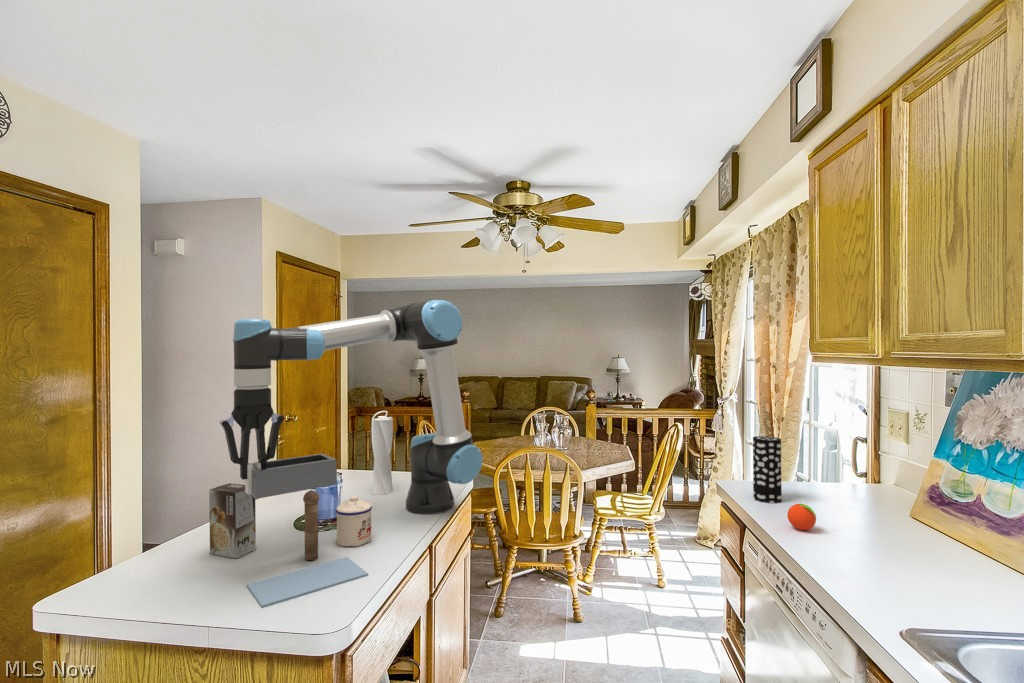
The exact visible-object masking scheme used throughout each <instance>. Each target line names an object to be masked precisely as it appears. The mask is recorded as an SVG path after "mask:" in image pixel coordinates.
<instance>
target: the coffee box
mask: <svg viewBox="0 0 1024 683" xmlns="http://www.w3.org/2000/svg"><path fill="white" fill-rule="evenodd" d="M208 496H209V500H208V502H209V504H208V505H209V507H208V508H209V509H208V510H209V555H213V554H215V556H219V555H220V556H221V557H226V558H232V559H238V558H241V557H242V556H245V555H247V554H249V553H252V552H254V551H256V549H257V544H256V543H257V542H256V541H257V539H256V538H257V537H256V536H257V535H256V533H257V531H256V526H257V525H256V524H257V523H256V522H257V521H256V520H257V519H256V499H255V498H254V497H253V496H251V495H248V494H247V493H246V492H245V484H241V483H240V484H239V483H226V484H222V485H220V486H219V485H218V486H216V487H213V488H210V489H209V490H208ZM251 551H252V552H251Z"/></svg>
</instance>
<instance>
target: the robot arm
mask: <svg viewBox="0 0 1024 683" xmlns="http://www.w3.org/2000/svg"><path fill="white" fill-rule="evenodd" d="M463 324H464V323H463V317H462V313H461V312H460V310H459V309H458V308H457V306H456V305H454V304H453V303H452V302H450V301H447V300H443V299H440V300H439V299H432V300H428V301H427V300H425V301H417V302H412V303H409V304H404V305H401V306H398V307H395V308H389V309H383V310H381V312H380V313H379V314H373V315H367V316H366V315H365V316H361V317H354V318H347V319H341V320H334V321H327V322H321V323H313V324H309V325H308V324H307V325H302V326H301V325H300V326H296V327H289V328H278V327H277V328H274V327H273V326H272V322H271V321H270V320H269V319H265V318H264V319H261V318H242V319H241V318H240V319H238V320H236V321H235V323H234V327H233V338H232V341H233V368H234V369H233V386H234V387H235V388H236V389H234V390H233V410H232V412H231V414H230V416H228V417H226V418H225V419H221V420H220V421H219V424H220V426H221V428H223V430H224V434H225V439H226V444H227V449H228V454H229V457H230V462H232V463H233V464H236V465H237V464H238V465H239V477H240V478H241V480H244V485H245V492H246V493H247V494H248V495H250V494H252V465H251V463H249V458H250V457H249V454H250V440H251V439H250V437H251V434H252V433H251V432H252V431H251V430H253V429H254V430H255V440H256V452H257V460H258V461H254V462H253V463H254V466H255V467H257V468H258V469H266V462H267V461H270V460H272V459H273V460H274V458H275V457H276V452H277V451H276V450H277V444H278V439H279V434H280V430H281V425H282V423H283V421H284V420H285V417H284V415H281V414H277V413H275V412H274V408H273V407H272V388H271V387H269V386H271V385H272V361H275V362H276V361H277V362H278V361H311V360H312V361H313V360H319V359H321V358H322V356H323V355H324V352H326V351H331V350H336V349H341V348H345V347H346V348H347V347H352V346H358V345H362V344H369V343H373V342H374V343H375V342H379V341H384V340H385V341H386V342H387V343H392V342H398V341H401V342H403V341H411V342H416V345H417V351H419V352H420V353H421V354H422V355H423V356H424V361H425V369H426V375H427V380H428V381H427V382H428V386H429V387H428V388H429V394H430V399H431V400H430V401H431V406H432V413H433V421H434V426H435V431H436V432H432V433H431V432H430V433H425V434H424V433H423V434H417V435H415V436H413V437H412V438H411V442H410V465H411V466H410V471H411V472H410V481H411V482H410V486H409V489H408V492H407V496H406V499H405V509H406V510H407V511H408V512H410V513H413V514H419V515H420V514H422V515H431V514H440V513H443V512H447V511H449V510H452V509H453V508H454V507H455V498H454V494H453V492H452V488H451V486H450V483H452V484H459V485H466V484H468V483H471V482H472V481H473V480H475V479H476V478H477V477H478V474H479V472H481V470H482V466H483V462H484V460H483V459H484V458H483V453H482V450H480V448H478V446H477V445H474V442H473V435H472V432H470V431H469V430H467V429H466V424H465V417H464V410H463V403H462V396H461V389H460V384H459V379H458V378H459V377H458V371H457V365H456V358H455V351H454V350H455V349H456V348H457V346H458V344H459V342H458V338H459V336H460V335H461V331H462V330H463ZM270 419H271V428H270V432H269V438H268V442H267V447H266V435H265V433H266V432H265V431H266V425H267V423H268V422H269V420H270ZM234 421H235V423H236V424H238V426H239V427H240V446H239V448H240V451H239V453H238V448H237V444H236V439H235V433H234V430H233V427H234V424H235V423H234ZM266 448H267V449H266Z"/></svg>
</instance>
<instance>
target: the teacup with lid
mask: <svg viewBox="0 0 1024 683" xmlns="http://www.w3.org/2000/svg"><path fill="white" fill-rule="evenodd" d="M372 509H373V506H372V503H370V502H369V501H365V500H362V499H361V498H360V499H359V496H358V495H352V496H350V498H349V500H347V501H345V502H343V503H340V504H339V505H338V506H336V510H335V513H336V542H337V544H338V546H340V545H341V547H344V546H348V547H349V546H355V547H359V546H358V545H360V546H363V545H362V544H364V545H366V544H368V543H370V541H371V540H372ZM367 542H368V543H367ZM365 543H366V544H365ZM348 547H347V548H348ZM349 548H350V547H349Z"/></svg>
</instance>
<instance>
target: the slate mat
mask: <svg viewBox="0 0 1024 683" xmlns="http://www.w3.org/2000/svg"><path fill="white" fill-rule="evenodd" d="M366 575H367V576H369V573H368V572H367V571H366V570H365V569H363V568H362V567H361V566H360V565H358V564H357V563H356V562H354V561H353V560H352V559H351V558H349V556H344V557H341V558H340V557H339V558H337V559H334V560H329V561H326V562H322V563H320V564H315V565H311V566H308V567H304V568H301V569H297V570H294V571H290V572H286V573H282V574H279V575H276V576H275V575H274V576H272V577H271V576H270V577H268V578H265V579H260V580H257V581H253V582H249V583H246V587H247V589H248V590H249V592H250V593H251V595H253V597H254V598H256V599H255V600H256V601H257V603H258V602H259V603H258V604H259V605H261V606H260V608H262V609H263V608H265V607H270V606H272V605H276V604H279V603H282V602H285V601H286V602H287V601H288V600H292V599H295V598H298V597H301V596H304V595H308V594H311V592H312V593H314V592H317V591H321V589H322V590H324V589H327V587H328V588H331V587H334V585H335V586H337V584H338V585H341V584H344V583H347V582H346V581H348V582H350V580H351V581H354V580H357V579H360V578H359V577H361V578H363V576H364V577H367V576H366ZM356 578H357V579H356ZM353 579H354V580H353ZM343 582H344V583H343ZM340 583H341V584H340ZM330 586H331V587H330Z"/></svg>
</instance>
